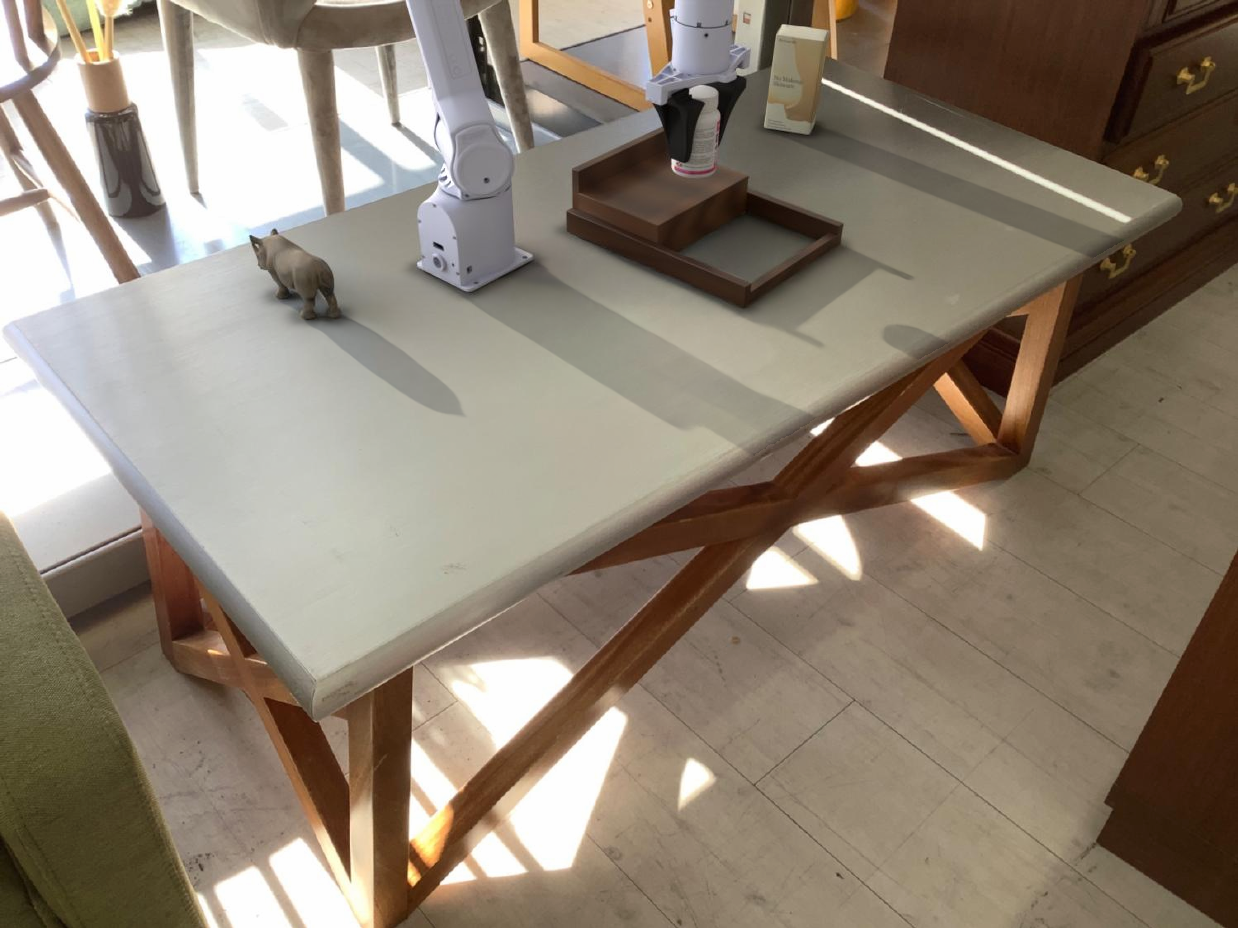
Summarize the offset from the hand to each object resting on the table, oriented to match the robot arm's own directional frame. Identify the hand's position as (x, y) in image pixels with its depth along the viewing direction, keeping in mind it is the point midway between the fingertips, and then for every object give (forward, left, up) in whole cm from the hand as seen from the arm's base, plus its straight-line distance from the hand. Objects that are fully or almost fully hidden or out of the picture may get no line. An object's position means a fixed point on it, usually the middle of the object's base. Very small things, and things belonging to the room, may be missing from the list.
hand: (694, 152), depth 116 cm
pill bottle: (0, 0, -2) cm, 2 cm away
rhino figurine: (-37, +21, -10) cm, 44 cm away
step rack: (0, -2, -9) cm, 9 cm away
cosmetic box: (+32, +8, -10) cm, 34 cm away
